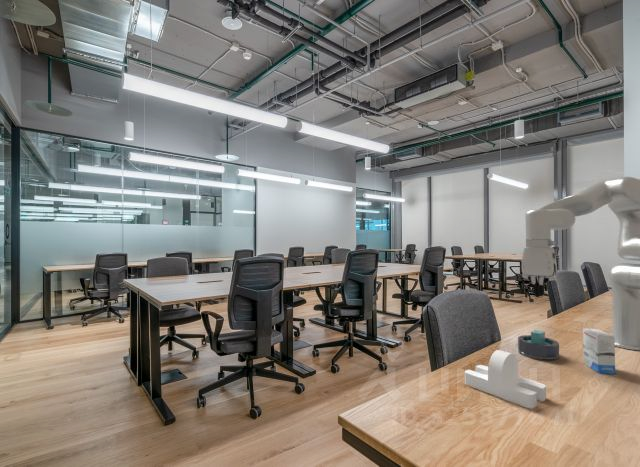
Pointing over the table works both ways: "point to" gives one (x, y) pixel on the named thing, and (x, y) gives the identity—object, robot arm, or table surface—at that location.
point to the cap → (538, 337)
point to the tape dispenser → (505, 381)
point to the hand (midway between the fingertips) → (538, 295)
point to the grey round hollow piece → (538, 348)
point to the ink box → (599, 350)
